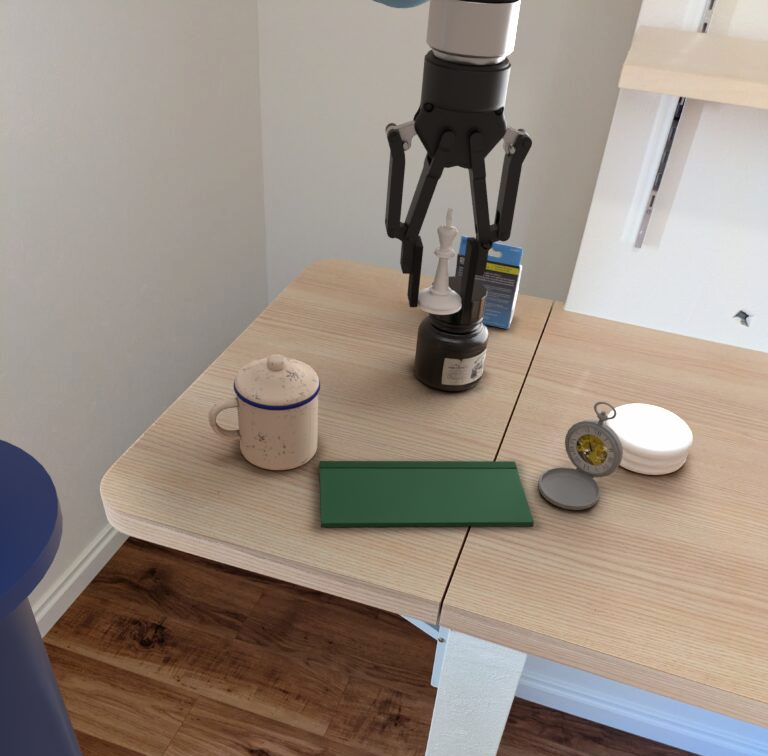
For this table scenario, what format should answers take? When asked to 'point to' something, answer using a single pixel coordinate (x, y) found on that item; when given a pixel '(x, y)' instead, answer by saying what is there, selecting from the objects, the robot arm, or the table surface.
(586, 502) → the pocket watch
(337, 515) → the green rectangular panel
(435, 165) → the robot arm
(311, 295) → the table surface
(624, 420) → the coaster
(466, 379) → the ink bottle
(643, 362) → the table surface
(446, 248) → the chess piece
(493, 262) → the label tape box
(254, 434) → the teacup with lid
